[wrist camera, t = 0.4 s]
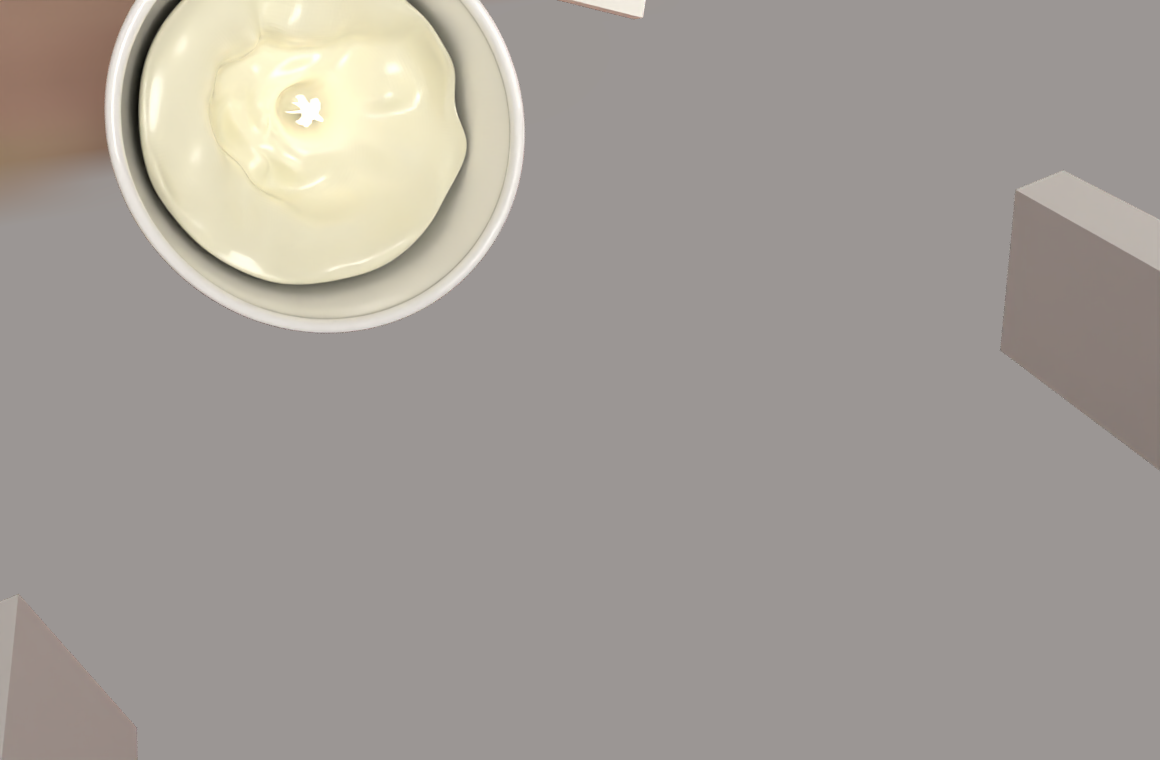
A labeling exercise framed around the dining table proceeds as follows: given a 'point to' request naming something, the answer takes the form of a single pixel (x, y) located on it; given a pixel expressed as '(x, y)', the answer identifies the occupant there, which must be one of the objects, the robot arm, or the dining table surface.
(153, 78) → the candle holder
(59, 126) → the dining table surface
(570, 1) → the gauge housing
